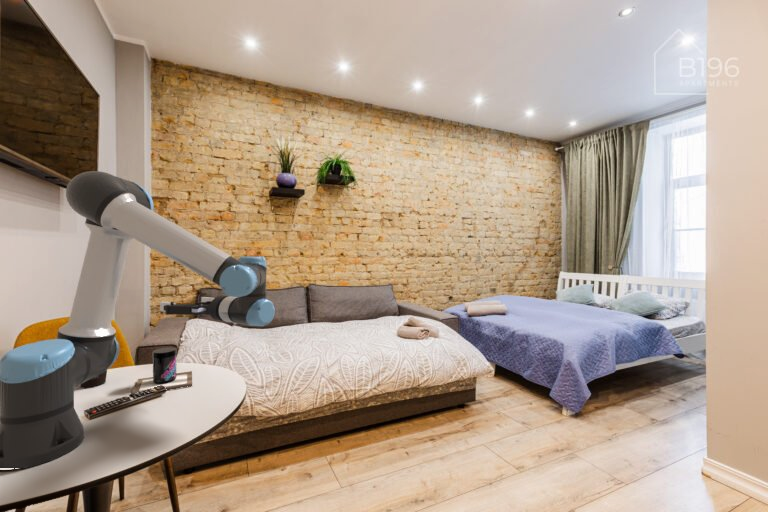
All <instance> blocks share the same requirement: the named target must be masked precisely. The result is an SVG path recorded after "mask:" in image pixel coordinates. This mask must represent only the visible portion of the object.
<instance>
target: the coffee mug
mask: <svg viewBox="0 0 768 512" xmlns="http://www.w3.org/2000/svg"><path fill="white" fill-rule="evenodd" d="M107 373H108V369H107V370H106V371H104V372H103V373H102V374H100V375H98V376H96V377H94V378H91V379H90V380H88V381H86V382H84V383H82V384H80V385H79V386H80V388H82V389H92V388H97V387H99V386H102V385H105V384H106V382H107V375H108V374H107Z"/></svg>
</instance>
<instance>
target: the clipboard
mask: <svg viewBox="0 0 768 512" xmlns="http://www.w3.org/2000/svg"><path fill="white" fill-rule="evenodd" d="M160 385H163V386H165V387H166V389H167V390H168V391H171V390H170V389H174V390H177V389H176V388H180V387H186V388H188V387H187V386H192V387H193V370H191V371H184V372H179V373H178V372H176V379H175V380H174V381H172V382H170V383H166V384H155V383H154V382H153V376H152V377H150V376H149V377H143V378H138V380H137V382H136V385H135V387H134V388H133V391H132V394H135V393H137V392H140V391H144V390H147V389H150V388H154V387H157V386H160ZM180 389H181V388H180Z"/></svg>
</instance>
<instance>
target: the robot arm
mask: <svg viewBox="0 0 768 512" xmlns="http://www.w3.org/2000/svg"><path fill="white" fill-rule="evenodd" d="M65 197H66V201H67V202H68V203H67V204H68V205H69V206H70V208H71V209H72V210H73V211H74V212H75V213H77V214H78V215H80V216H82V217H84V218H85V222H84V225H85V226H86V227H87V228H88V229H89V231H90V234H89V239H88V242H87V247H86V251H85V254H84V258H83V262H82V267H81V270H80V275H79V279H78V282H77V287H76V290H75V295H74V299H73V303H72V306H71V307H72V308H71V312H70V314H69V319H68V322H67V323H65V324H63V325H62V326H61V327H59V328H58V331H57V335H56V338H55V339H53V338H52V339H44V340H39V341H35V342H33V343H32V342H31V343H26V344H24V345H20V346H18V347H15V348H12V349H11V350H9V351H7V352H6V353H5V354H4V355H3V356H1V359H0V468H14V469H15V468H23V469H26V468H25V467H27V468H31V467H34V466H38V465H41V464H44V463H47V462H50V461H53V460H56V459H58V458H60V457H61V456H64V455H66V454H67V453H70V452H72V451H74V450H75V449H76V448H78V447H79V446H80V445H81V444H82V443H83V442H84V440H85V427H84V425H83V423H82V421H81V420H80V417H79V416H78V414H77V413H78V412H77V411H76V409H75V388H76V387H78V386H80V384H82V383H84V382H86V381H88V380H90V379H91V378H94V377H96V376H98V375H100V374H102V373H103V372H104V371H106V370H107V371H108V369H109V368H110V367H112V366H113V365H114V363H115V362H116V361H117V359H118V357H119V353H120V343H119V341H117V339H116V333H117V330H116V328H115V327H113V325H112V320H113V317H114V313H115V312H114V311H115V309H116V305H117V299H118V296H119V292H120V287H121V283H122V279H123V275H124V271H125V266H126V264H127V263H126V262H127V260H128V254H129V250H130V246H131V242H132V239H135V240H136V241H138V242H140V243H141V244H143V245H145V246H146V247H149V248H150V249H152V250H154V251H156V252H157V253H159V254H161V255H163V256H164V257H167V258H168V259H170V260H172V261H174V262H175V263H178V264H180V265H181V266H183V267H184V268H186V269H188V270H191V271H192V272H194V273H196V274H197V275H199V276H202V277H203V278H205V279H207V280H208V281H210V282H211V283H214V284H215V285H217V286H219V287H220V289H221V290H222V292H223V293H224V294H225V295H218V296H216V297H207V296H201V297H200V298H201V301H198V302H196V303H175V302H174V301H170V302H167V301H160V302H159V311H160V312H165V315H167V316H168V315H187V316H189V315H193V316H199V315H206V316H210V318H212V319H213V320H215V321H218V322H226V323H233V325H237V324H238V325H239V324H240V325H246V326H250V327H265V326H268V325H269V324H270V323H272V321H273V319H274V317H275V313H276V309H275V306H274V303H273V302H272V301H271V300H269V299H267V270H268V267H267V259H266V257H264V256H239V258H235V257H233V256H232V255H230V254H229V253H227V252H225V251H223V250H222V249H220V248H218V247H216V246H214V245H212V244H211V243H209V242H208V241H206V240H204V239H202V238H200V237H199V236H198V235H195V234H194V233H191V232H190V231H189V230H186V229H185V228H184V227H181V226H179V225H178V224H176V223H174V222H173V221H171V220H169V219H167V218H166V217H164V216H162V215H161V214H158V213H157V212H155V211H154V209H155V208H154V207H155V206H154V205H155V204H154V200H153V198H152V196H151V194H150V193H149V192H148V191H147V190H146V188H144V187H142V186H141V185H140V184H137V183H136V182H135V181H130V180H127V179H124V178H122V177H118V176H115V175H113V174H110V173H108V172H105V171H99V170H98V171H97V170H92V171H90V170H89V171H85V172H81V173H79V174H77V175H75V176H73V178H72V179H71V180H70V181H69V182H68V184H67V185H66V188H65ZM200 305H201V307H200Z"/></svg>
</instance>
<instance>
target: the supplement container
mask: <svg viewBox="0 0 768 512" xmlns="http://www.w3.org/2000/svg"><path fill="white" fill-rule="evenodd" d="M176 373H177V347H172V346H171V347H168V346H167V347H161V348H158V349H157V348H156V349H153V351H152V377H153V382H154V383H155V384H166V383H170V382H172V381H174V380H175V379H176Z"/></svg>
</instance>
